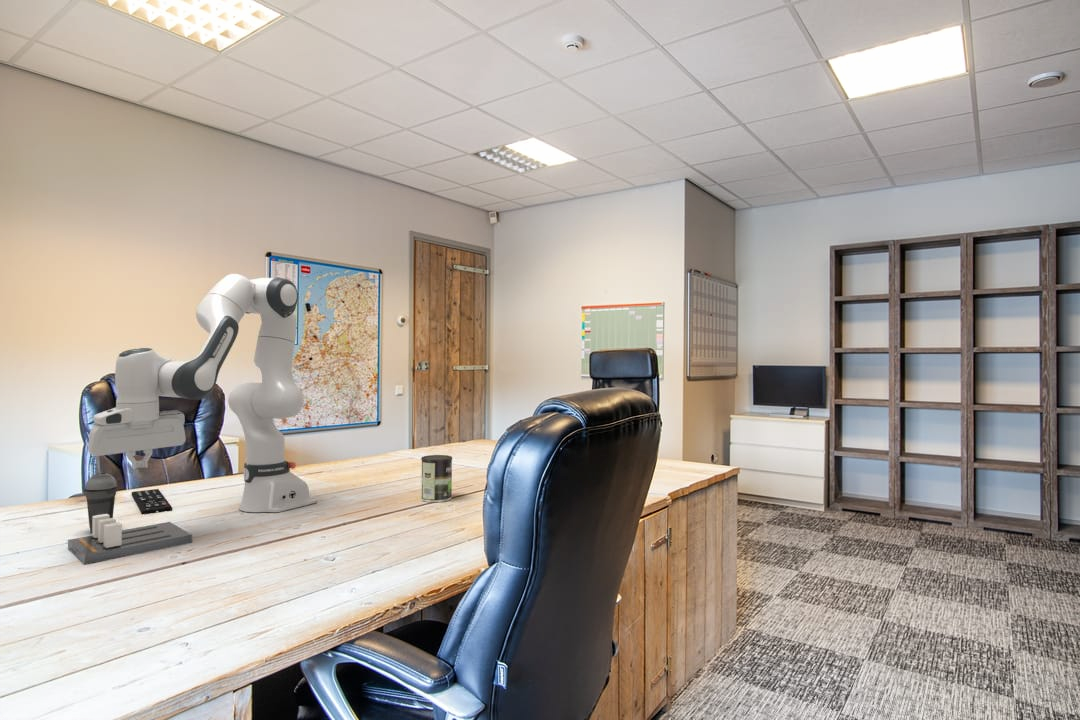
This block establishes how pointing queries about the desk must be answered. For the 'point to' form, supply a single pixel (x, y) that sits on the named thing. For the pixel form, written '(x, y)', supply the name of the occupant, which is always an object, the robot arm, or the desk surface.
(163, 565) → the desk surface
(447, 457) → the coffee can
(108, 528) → the block
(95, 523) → the block
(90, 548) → the grey slider panel
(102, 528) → the block
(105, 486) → the beverage cup
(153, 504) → the remote control
